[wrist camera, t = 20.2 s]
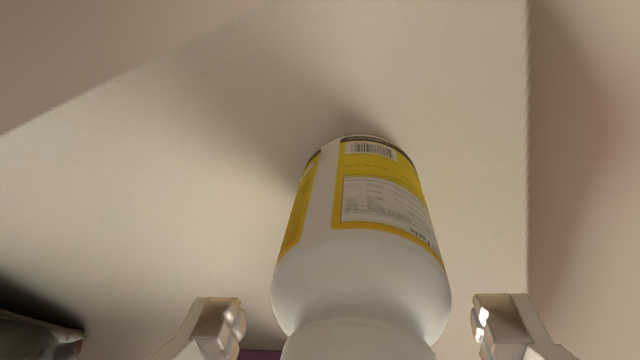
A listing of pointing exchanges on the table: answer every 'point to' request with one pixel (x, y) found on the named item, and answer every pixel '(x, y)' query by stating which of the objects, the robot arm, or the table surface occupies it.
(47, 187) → the table surface
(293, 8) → the table surface
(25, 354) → the lucky cat figurine
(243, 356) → the box
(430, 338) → the pill bottle
